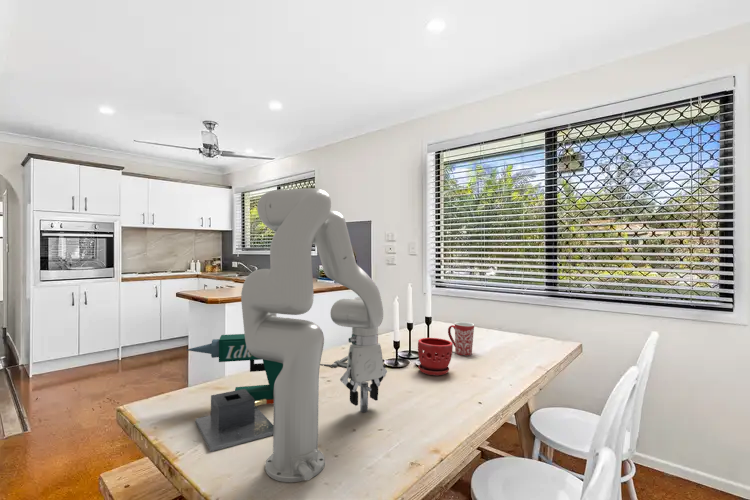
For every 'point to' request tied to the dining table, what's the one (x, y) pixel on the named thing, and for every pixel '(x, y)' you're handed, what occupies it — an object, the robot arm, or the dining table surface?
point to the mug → (462, 337)
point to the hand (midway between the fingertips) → (364, 400)
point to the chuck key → (364, 396)
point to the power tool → (237, 351)
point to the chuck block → (233, 420)
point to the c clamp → (338, 363)
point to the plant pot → (434, 355)
